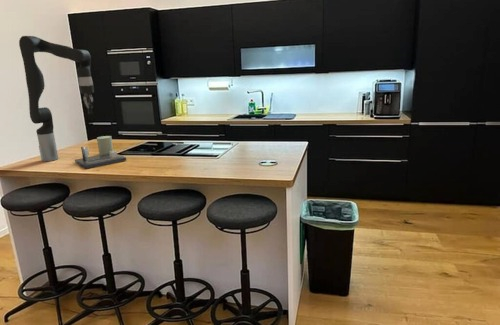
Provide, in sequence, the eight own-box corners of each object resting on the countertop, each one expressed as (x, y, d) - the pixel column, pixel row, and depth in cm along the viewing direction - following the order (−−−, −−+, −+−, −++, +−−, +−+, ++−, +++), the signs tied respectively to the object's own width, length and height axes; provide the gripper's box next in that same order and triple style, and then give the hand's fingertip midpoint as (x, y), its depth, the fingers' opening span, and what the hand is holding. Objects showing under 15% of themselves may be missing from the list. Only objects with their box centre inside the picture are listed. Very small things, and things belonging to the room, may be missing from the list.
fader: (112, 159, 215) (111, 152, 214) (110, 157, 218) (109, 151, 217) (117, 158, 217) (116, 151, 216) (115, 157, 220) (114, 150, 219)
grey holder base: (86, 169, 203) (83, 152, 201) (75, 162, 218) (72, 147, 215) (126, 160, 218) (124, 144, 216) (114, 155, 233) (111, 140, 230)
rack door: (85, 158, 217) (84, 151, 216) (82, 159, 217) (81, 152, 216) (89, 154, 229) (87, 147, 228) (85, 154, 229) (84, 147, 228)
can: (107, 151, 244) (105, 134, 241) (116, 153, 239) (114, 135, 236) (96, 155, 236) (93, 137, 233) (105, 156, 232) (102, 138, 228)
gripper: (76, 85, 212) (80, 114, 217) (83, 85, 202) (87, 115, 207) (89, 84, 217) (93, 112, 221) (96, 84, 207) (100, 114, 212)
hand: (90, 114), depth 214 cm, fingers closed
